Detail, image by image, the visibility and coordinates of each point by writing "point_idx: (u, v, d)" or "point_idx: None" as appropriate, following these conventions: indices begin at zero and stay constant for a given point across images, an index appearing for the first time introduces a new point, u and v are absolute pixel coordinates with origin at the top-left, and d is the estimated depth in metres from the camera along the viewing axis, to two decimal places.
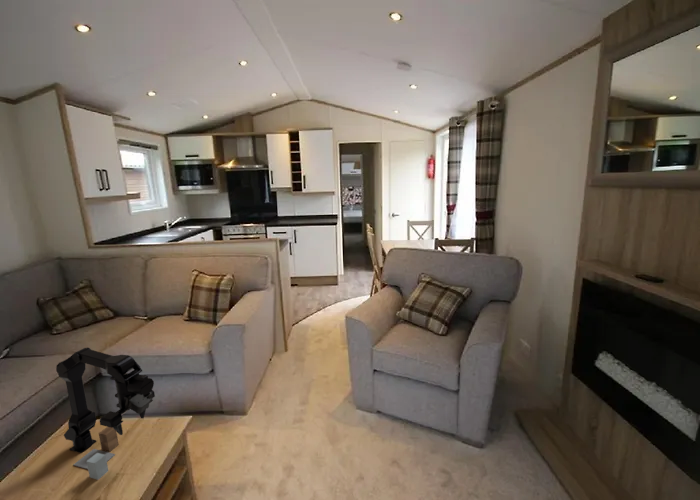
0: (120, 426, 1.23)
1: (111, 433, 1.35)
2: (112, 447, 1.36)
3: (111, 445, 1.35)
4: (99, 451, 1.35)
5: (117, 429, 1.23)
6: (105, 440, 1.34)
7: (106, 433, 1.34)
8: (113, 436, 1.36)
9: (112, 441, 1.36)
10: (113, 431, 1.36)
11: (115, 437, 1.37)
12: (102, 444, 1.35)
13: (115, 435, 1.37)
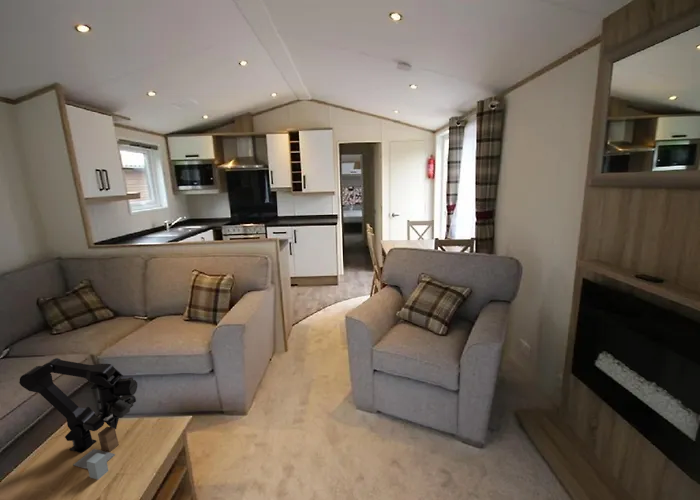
0: (113, 422, 1.37)
1: (110, 433, 1.35)
2: (112, 447, 1.36)
3: (111, 445, 1.35)
4: (99, 451, 1.35)
5: (110, 424, 1.37)
6: (105, 440, 1.33)
7: (105, 434, 1.34)
8: (112, 436, 1.36)
9: (112, 441, 1.35)
10: (112, 431, 1.36)
11: (115, 437, 1.37)
12: (102, 444, 1.35)
13: (114, 435, 1.37)
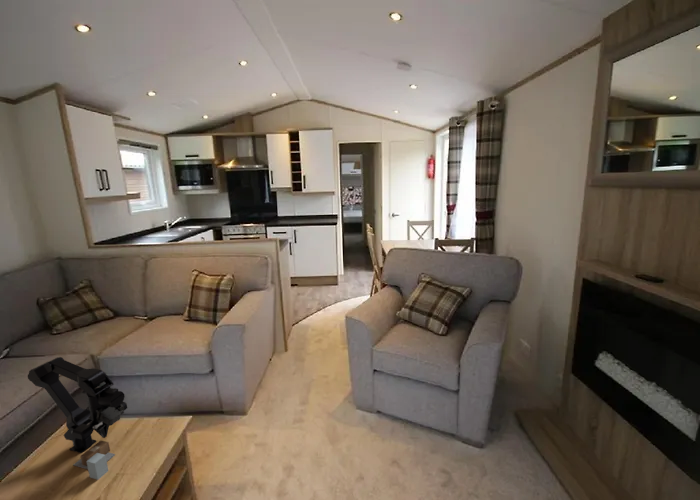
0: (103, 430, 1.32)
1: None
2: (107, 449, 1.34)
3: (104, 452, 1.32)
4: None
5: (100, 432, 1.33)
6: None
7: None
8: None
9: (101, 453, 1.31)
10: None
11: (98, 451, 1.30)
12: None
13: None
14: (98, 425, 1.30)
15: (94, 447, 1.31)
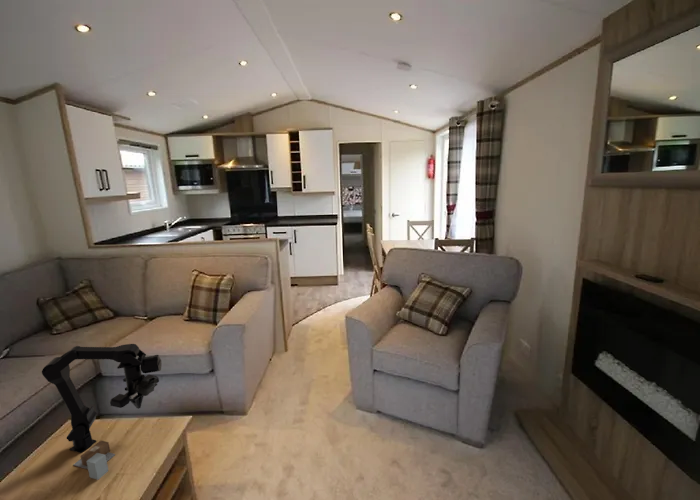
0: (138, 400, 1.40)
1: None
2: (107, 449, 1.34)
3: (104, 452, 1.32)
4: None
5: (135, 403, 1.41)
6: None
7: None
8: None
9: (101, 453, 1.31)
10: None
11: (98, 451, 1.30)
12: None
13: None
14: (134, 395, 1.38)
15: (94, 447, 1.31)
